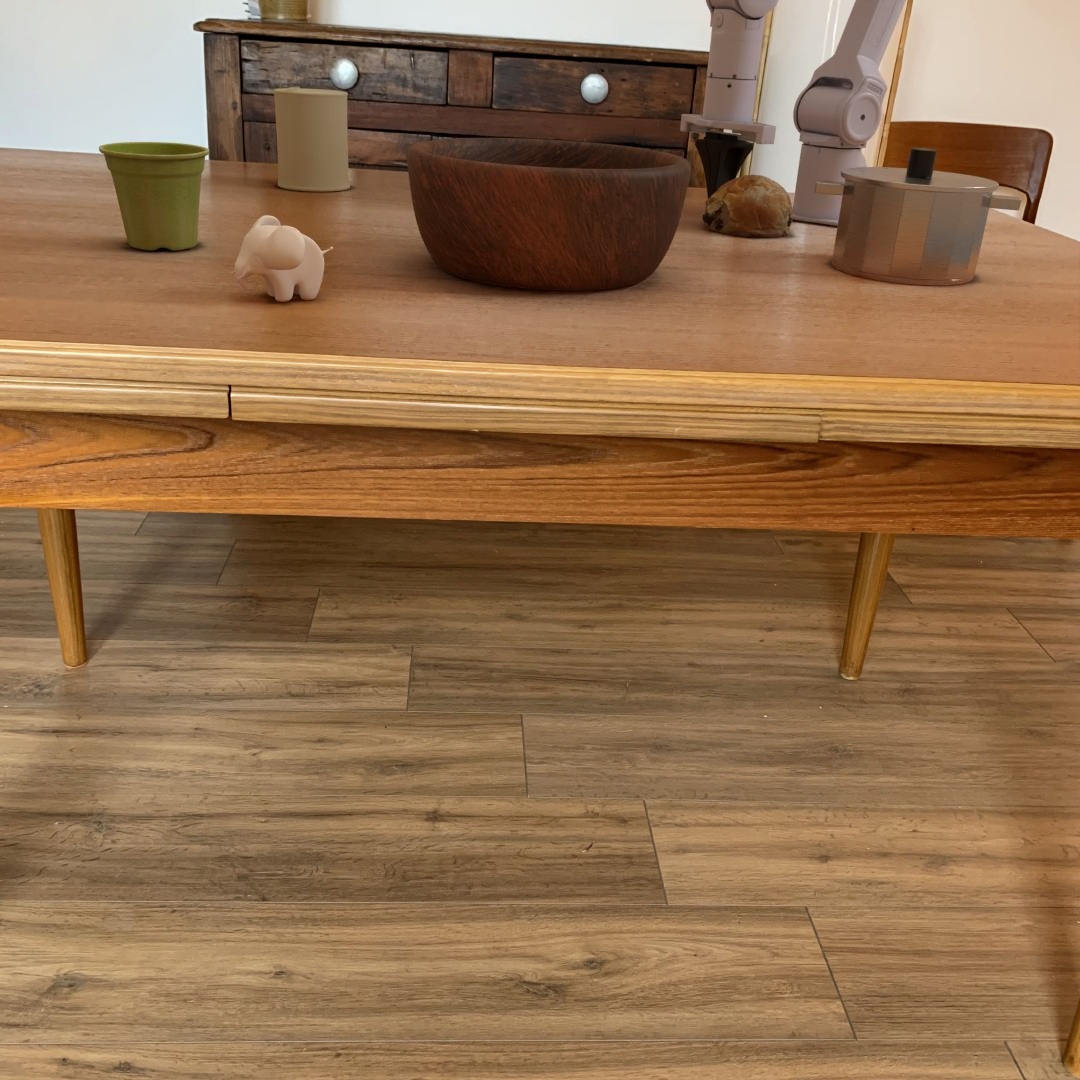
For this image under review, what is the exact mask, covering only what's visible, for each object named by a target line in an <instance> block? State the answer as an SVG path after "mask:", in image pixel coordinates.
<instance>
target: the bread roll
mask: <svg viewBox="0 0 1080 1080" xmlns="http://www.w3.org/2000/svg"><path fill="white" fill-rule="evenodd" d="M704 203H705V213H704V214H702V216H701V220H702V222H703V223H704V224H706V225H707V226H708V229H709V230H710V231H712V232H716V233H720V234H724V235H731V236H738V237H742V238H743V237H744V238H748V237H762V238H779V237H789V236H790V235H792V233H793V231H792V229H791V226H792V223H793V219H792V216H793V210H792V209H793V202H792V199H791V197H790V194H789V193H788V191H787V190H786V189H785V188H784V187H783V186H782V185H781V184H780V183H779V182H776V181H775V180H773V179H771V178H770V177H767V176H765V175H762V174H761V175H760V174H744V175H741V176H737V177H736V178H735V179H733V180H731V181H728V182H726V183H725V184H723V185H722V186H721V187H720V188H718V190H717V191H716V192H715V193H714V194H713V195H712V196H711V197H710V198H709V199H708V198H707V199H706V200H705V202H704Z"/></svg>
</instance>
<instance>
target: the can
mask: <svg viewBox="0 0 1080 1080" xmlns="http://www.w3.org/2000/svg"><path fill="white" fill-rule="evenodd" d="M348 95H349V94H348V92H347V91H343V90H336V89H335V90H333V89H323V88H302V87H300V86H291V87H287V88H286V87H285V88H274V89H273V96H274V109H275V113H274V114H275V130H276V147H277V150H276V151H277V172H278V173H277V175H278V176H277V178H278V180H277V186H278V187H280V188H281V189H284V190H290V191H297V192H313V193H315V192H319V193H320V192H321V193H323V192H324V193H326V192H327V193H329V192H339V191H340V192H341V191H346V190H349V189H351V184H350V174H349V173H350V172H349V170H350V169H349V140H348V139H349V136H348V135H349V134H348Z"/></svg>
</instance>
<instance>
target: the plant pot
mask: <svg viewBox="0 0 1080 1080" xmlns="http://www.w3.org/2000/svg"><path fill="white" fill-rule="evenodd" d="M98 151H99V152H100V153H101V154H103V157H104V160H105V164H106V167H107V169H108V170H109V171H110V173H111V178H112V182H113V186H114V190H115V193H116V199H117V202H118V206H119V211H120V216H121V220H122V224H123V228H124V233H125V236H126V240H127V243H128V245H129V247H131V248H133V249H140V250H144V251H148V252H151V251H152V252H153V251H157V250H158V249H162V248H163V249H168V250H170V251H175V252H179V251H183V250H188V249H190V250H191V249H193V248H194V247H196V246H197V243H198V236H199V217H200V199H201V185H202V174H203V172H204V170H205V162H206V156H208V155H210V149H209V148H207V147H204V146H201V145H198V144H197V145H196V144H191V143H183V142H182V143H181V142H166V141H165V142H164V141H163V142H162V141H126V142H111V143H105V144H101V145H99V146H98Z"/></svg>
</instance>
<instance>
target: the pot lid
mask: <svg viewBox="0 0 1080 1080" xmlns="http://www.w3.org/2000/svg"><path fill="white" fill-rule="evenodd" d="M909 151H910V152H909V157H908V163H907V166H906V168H905V167H886V166H884V167H883V166H867V167H854V168H846V169H843V170H842V171H841V177H843V178H845V179H847V180H851V181H855V182H859V183H864V184H870V185H876V186H883V187H890V188H899V189H908V190H919V191H932V192H950V193H984V192H992V191H993V192H995V191H997V190H998V189H999V186H1000V184H999V182H997V181H995V180H993V179H991V178H990V179H989V178H986V177H981V176H977V175H970V174H963V173H958V172H957V173H955V172H949V171H940V170H934V169H935V165H936V164H935V163H936V159H937V152H938V150H937V149H935V148H925V147H912V148H910V150H909Z"/></svg>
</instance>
